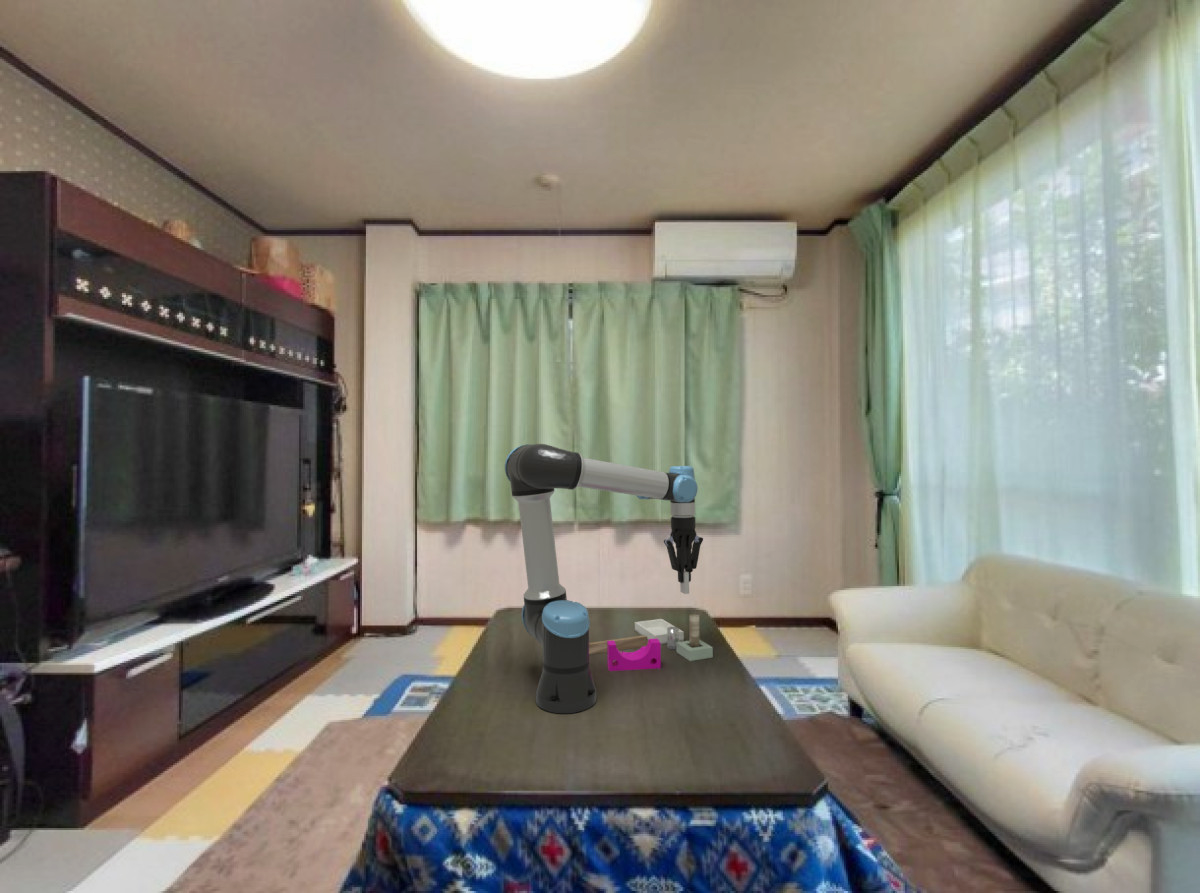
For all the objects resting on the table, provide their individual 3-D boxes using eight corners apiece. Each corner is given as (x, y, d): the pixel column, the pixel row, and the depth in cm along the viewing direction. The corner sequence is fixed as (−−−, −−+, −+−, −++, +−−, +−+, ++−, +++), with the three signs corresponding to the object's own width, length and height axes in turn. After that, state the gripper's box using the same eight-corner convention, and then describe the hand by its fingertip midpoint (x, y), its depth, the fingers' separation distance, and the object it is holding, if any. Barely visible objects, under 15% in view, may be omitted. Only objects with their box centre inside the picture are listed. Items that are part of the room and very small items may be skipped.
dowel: (701, 655, 167) (701, 616, 167) (692, 657, 166) (692, 617, 166) (696, 652, 170) (695, 613, 170) (687, 653, 169) (687, 614, 169)
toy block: (655, 660, 163) (655, 635, 164) (660, 669, 157) (660, 642, 157) (606, 663, 162) (606, 638, 162) (609, 671, 155) (608, 645, 156)
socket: (712, 657, 165) (712, 647, 165) (689, 661, 163) (689, 650, 163) (698, 648, 173) (698, 639, 173) (676, 652, 170) (676, 642, 170)
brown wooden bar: (647, 645, 176) (647, 636, 176) (582, 655, 168) (582, 645, 168) (645, 644, 177) (645, 635, 177) (581, 653, 169) (581, 643, 169)
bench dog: (680, 648, 173) (680, 629, 173) (670, 650, 172) (670, 631, 172) (675, 645, 176) (675, 626, 176) (665, 646, 175) (665, 627, 175)
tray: (683, 640, 180) (683, 631, 180) (655, 645, 176) (655, 635, 176) (661, 627, 195) (661, 618, 195) (634, 630, 191) (634, 622, 191)
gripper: (694, 513, 174) (696, 587, 174) (658, 516, 169) (660, 592, 169) (707, 515, 167) (709, 593, 167) (670, 518, 163) (672, 598, 162)
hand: (684, 592), depth 168 cm, fingers closed
